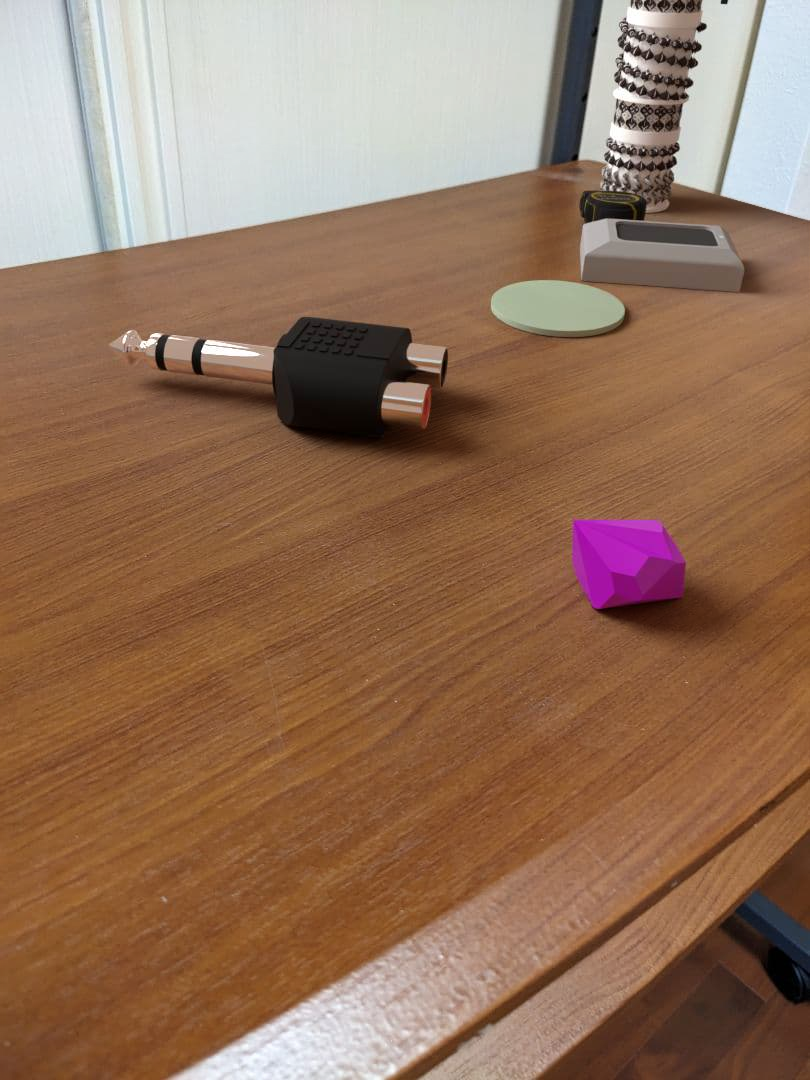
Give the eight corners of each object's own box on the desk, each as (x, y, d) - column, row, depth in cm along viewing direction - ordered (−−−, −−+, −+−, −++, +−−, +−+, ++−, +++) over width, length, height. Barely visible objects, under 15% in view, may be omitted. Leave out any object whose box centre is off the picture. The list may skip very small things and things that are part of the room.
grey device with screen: (584, 213, 95) (733, 222, 94) (579, 248, 97) (725, 258, 96) (586, 243, 87) (748, 254, 86) (581, 280, 90) (739, 292, 88)
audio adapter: (421, 385, 59) (64, 340, 63) (418, 457, 62) (78, 410, 66) (452, 320, 67) (136, 284, 72) (448, 386, 71) (146, 348, 75)
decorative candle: (614, 187, 117) (649, -46, 102) (683, 201, 112) (731, -40, 98) (581, 203, 111) (613, -42, 96) (653, 219, 106) (699, -36, 92)
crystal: (621, 636, 48) (636, 566, 45) (551, 581, 51) (562, 513, 49) (689, 602, 50) (707, 533, 48) (618, 552, 54) (631, 485, 51)
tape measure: (637, 221, 105) (642, 188, 103) (646, 240, 100) (652, 205, 98) (577, 219, 106) (581, 185, 103) (583, 238, 100) (588, 203, 98)
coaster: (652, 317, 83) (653, 310, 82) (557, 349, 77) (557, 342, 76) (556, 277, 90) (557, 271, 90) (463, 303, 84) (464, 297, 84)
